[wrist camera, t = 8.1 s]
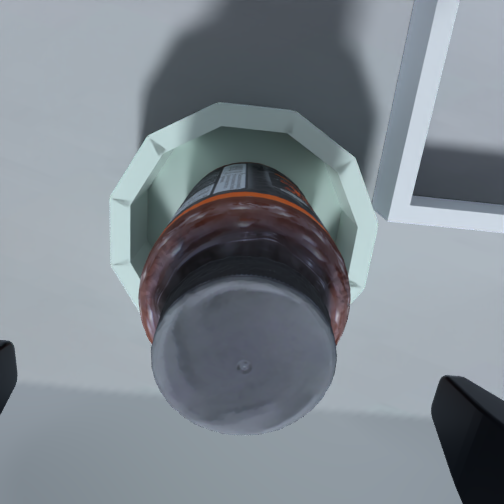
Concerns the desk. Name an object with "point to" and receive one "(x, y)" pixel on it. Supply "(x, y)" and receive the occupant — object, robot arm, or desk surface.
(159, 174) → the bowl
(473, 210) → the tray
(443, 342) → the desk surface
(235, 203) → the supplement bottle
